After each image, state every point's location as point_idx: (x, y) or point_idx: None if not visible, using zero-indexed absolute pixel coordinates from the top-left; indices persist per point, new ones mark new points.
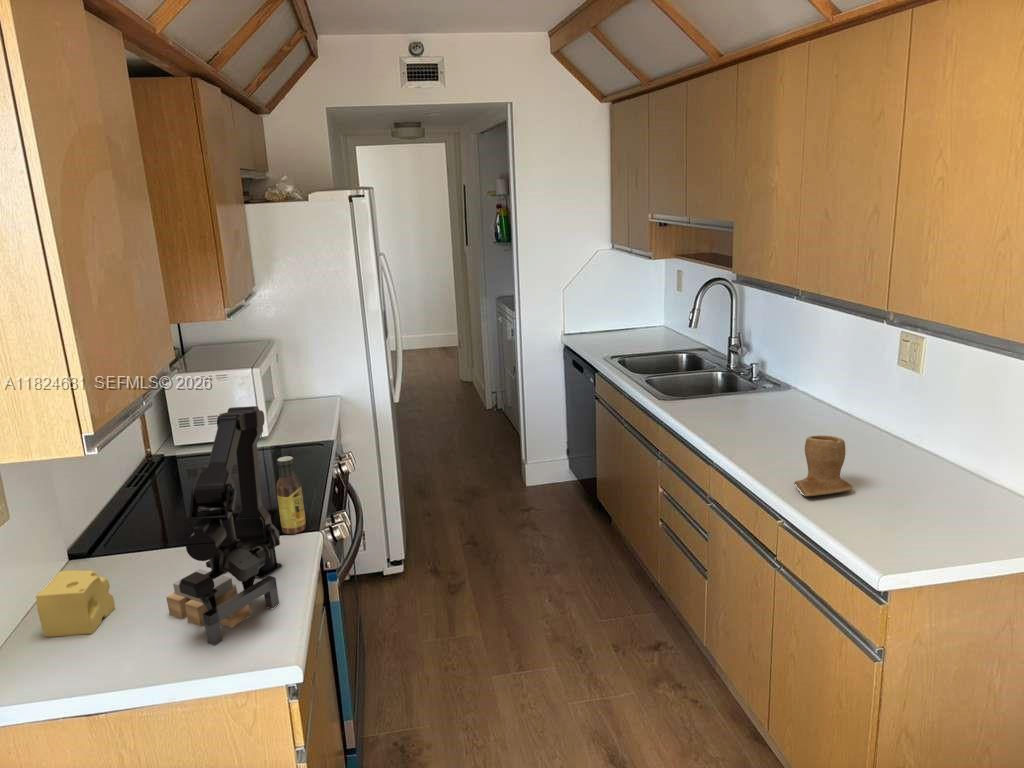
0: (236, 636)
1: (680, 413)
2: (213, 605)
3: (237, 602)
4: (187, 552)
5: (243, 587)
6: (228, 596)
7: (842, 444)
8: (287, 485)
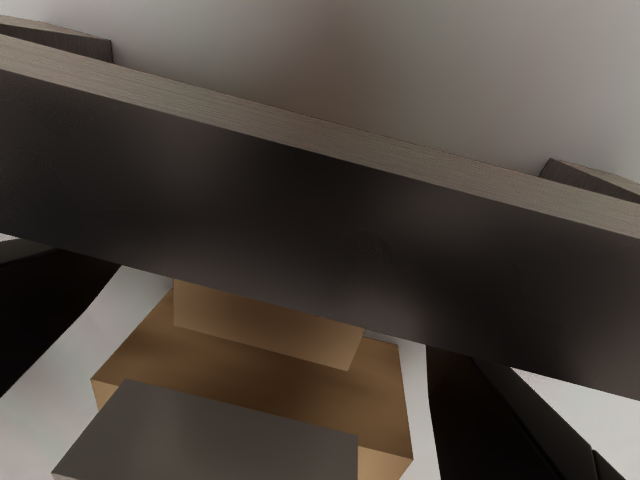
0: (496, 86)
1: None
2: (560, 428)
3: (433, 175)
4: None
5: (74, 319)
6: (188, 356)
7: None
8: None
